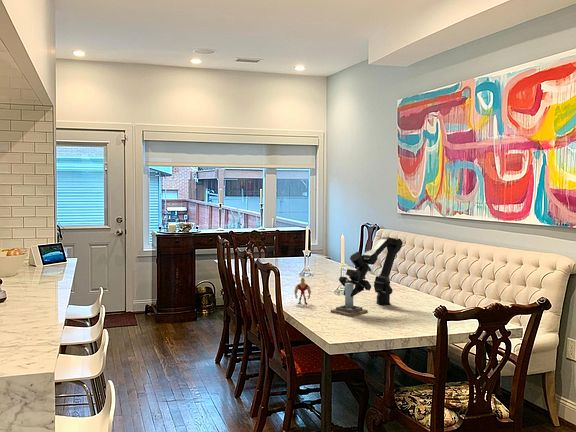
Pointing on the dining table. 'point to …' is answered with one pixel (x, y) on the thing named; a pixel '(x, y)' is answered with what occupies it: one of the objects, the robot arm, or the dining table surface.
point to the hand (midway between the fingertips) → (347, 295)
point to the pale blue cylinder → (348, 295)
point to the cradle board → (349, 311)
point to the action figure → (302, 290)
